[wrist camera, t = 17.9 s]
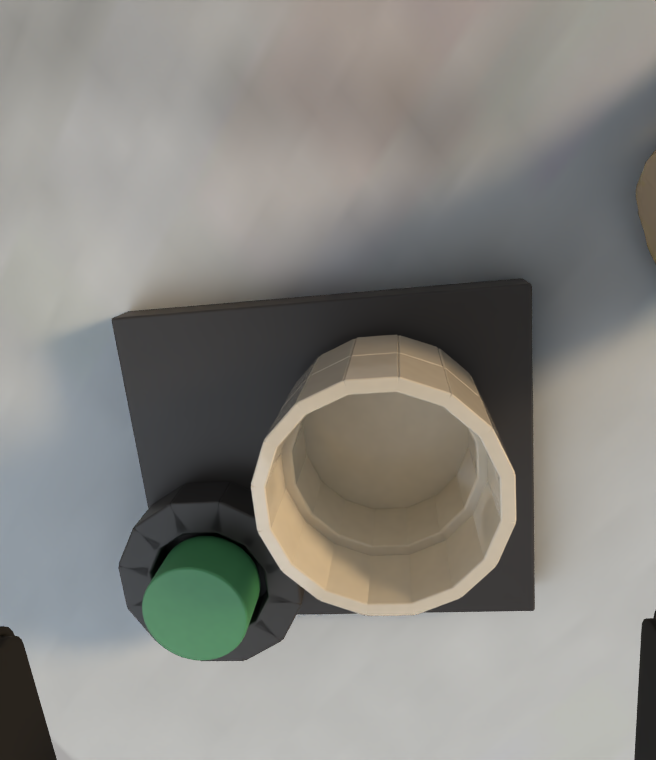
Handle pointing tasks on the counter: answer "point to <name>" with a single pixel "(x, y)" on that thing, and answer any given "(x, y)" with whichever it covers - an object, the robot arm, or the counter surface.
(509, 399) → the scale
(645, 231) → the mug
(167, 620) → the button
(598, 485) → the counter surface
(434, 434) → the cream cup
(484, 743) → the counter surface
